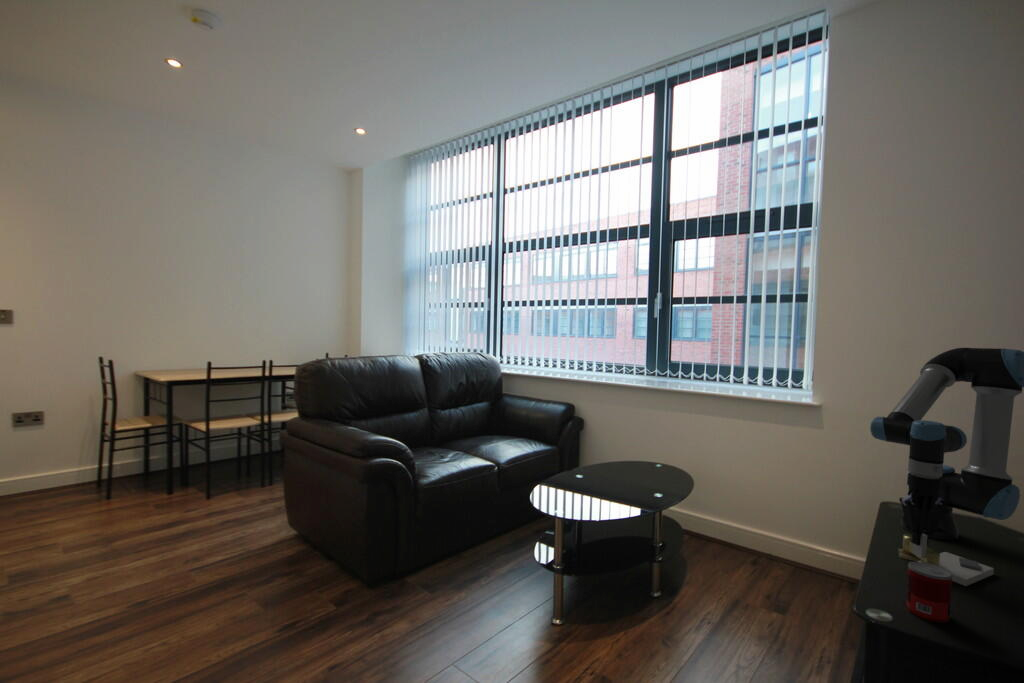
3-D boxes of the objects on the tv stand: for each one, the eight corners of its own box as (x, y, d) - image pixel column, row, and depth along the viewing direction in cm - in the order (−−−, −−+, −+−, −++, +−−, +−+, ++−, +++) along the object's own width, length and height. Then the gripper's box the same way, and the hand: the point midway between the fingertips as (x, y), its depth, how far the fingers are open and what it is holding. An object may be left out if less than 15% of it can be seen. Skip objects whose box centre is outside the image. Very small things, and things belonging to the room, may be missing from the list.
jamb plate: (898, 551, 148) (898, 548, 148) (919, 556, 146) (919, 553, 146) (900, 557, 144) (900, 554, 144) (921, 562, 141) (922, 559, 141)
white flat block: (944, 557, 145) (945, 549, 145) (993, 574, 135) (993, 565, 135) (917, 567, 138) (917, 558, 138) (966, 586, 128) (966, 576, 128)
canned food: (958, 625, 110) (960, 579, 110) (918, 620, 112) (920, 574, 112) (936, 607, 118) (938, 563, 118) (899, 602, 119) (901, 559, 119)
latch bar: (899, 549, 147) (900, 533, 147) (912, 551, 146) (913, 535, 146) (925, 568, 135) (926, 551, 135) (940, 569, 135) (941, 552, 135)
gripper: (916, 479, 132) (910, 562, 133) (958, 479, 133) (952, 561, 134) (892, 470, 140) (887, 549, 140) (932, 471, 141) (927, 549, 142)
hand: (919, 555), depth 137 cm, fingers closed
